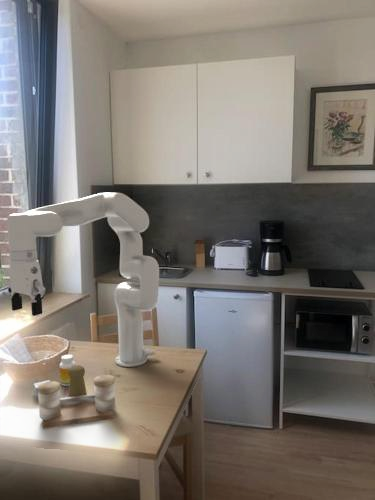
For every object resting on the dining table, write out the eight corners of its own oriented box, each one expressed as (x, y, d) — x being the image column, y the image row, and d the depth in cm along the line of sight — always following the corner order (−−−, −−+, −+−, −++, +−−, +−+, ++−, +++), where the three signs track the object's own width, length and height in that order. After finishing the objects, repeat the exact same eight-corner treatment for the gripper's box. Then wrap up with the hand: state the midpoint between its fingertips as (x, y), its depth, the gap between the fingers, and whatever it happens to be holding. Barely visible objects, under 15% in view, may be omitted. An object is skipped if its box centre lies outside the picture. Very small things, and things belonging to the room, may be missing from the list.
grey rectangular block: (49, 391, 145) (49, 380, 144) (52, 396, 141) (51, 384, 141) (34, 394, 142) (33, 383, 142) (36, 399, 139) (36, 388, 138)
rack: (113, 401, 137) (112, 370, 135) (117, 417, 127) (116, 384, 126) (40, 411, 131) (38, 379, 130) (38, 429, 122) (36, 394, 120)
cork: (91, 396, 141) (89, 364, 139) (80, 405, 135) (79, 371, 134) (75, 393, 143) (73, 362, 141) (64, 402, 137) (62, 369, 135)
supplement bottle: (72, 387, 147) (70, 360, 146) (57, 385, 148) (56, 359, 147) (79, 380, 153) (77, 354, 151) (65, 378, 154) (63, 353, 152)
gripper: (52, 256, 124) (56, 313, 126) (17, 251, 133) (20, 304, 136) (30, 260, 118) (34, 320, 120) (-6, 254, 127) (-2, 310, 130)
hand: (27, 312), depth 128 cm, fingers open, 9 cm apart
